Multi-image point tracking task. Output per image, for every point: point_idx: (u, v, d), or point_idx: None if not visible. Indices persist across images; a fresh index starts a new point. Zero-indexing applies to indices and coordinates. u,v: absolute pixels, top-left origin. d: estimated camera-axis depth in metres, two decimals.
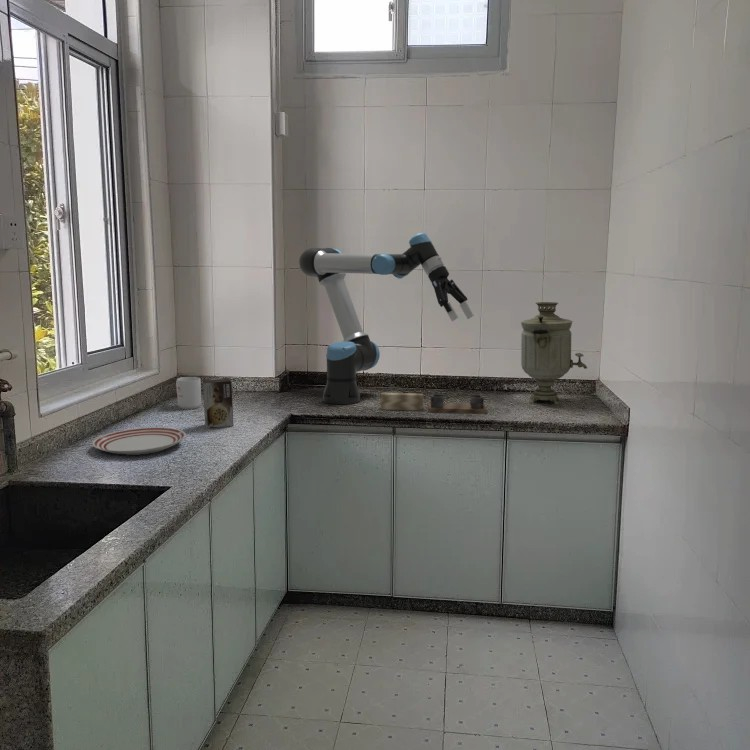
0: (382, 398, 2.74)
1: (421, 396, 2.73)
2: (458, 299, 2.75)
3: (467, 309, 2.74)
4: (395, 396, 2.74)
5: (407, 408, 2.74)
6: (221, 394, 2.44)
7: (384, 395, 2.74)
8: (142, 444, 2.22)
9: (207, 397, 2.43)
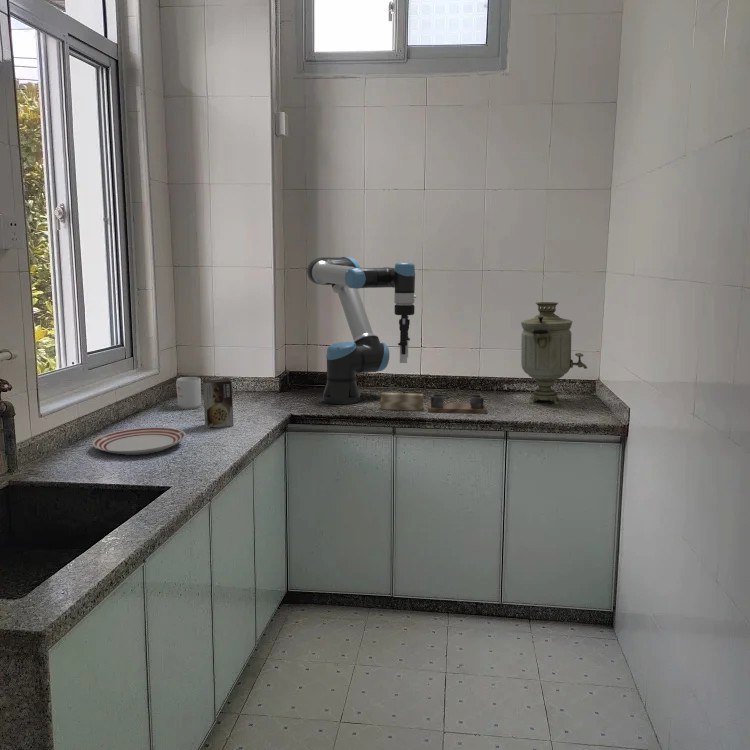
0: (382, 398, 2.75)
1: (421, 396, 2.72)
2: None
3: None
4: (395, 396, 2.74)
5: (407, 408, 2.74)
6: (221, 394, 2.44)
7: (384, 395, 2.74)
8: (142, 444, 2.22)
9: (207, 397, 2.43)
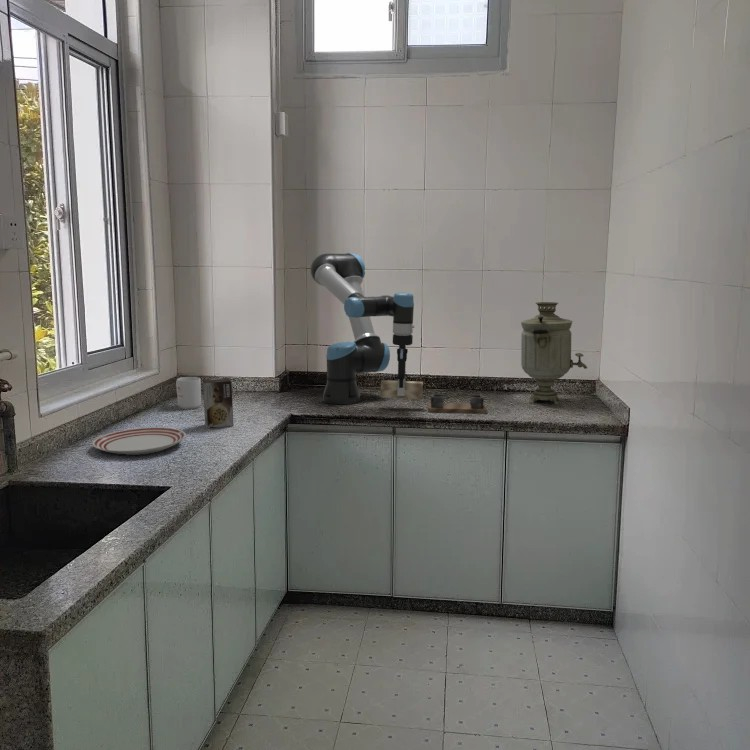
0: (382, 386, 2.74)
1: (421, 384, 2.73)
2: None
3: None
4: (395, 384, 2.73)
5: (407, 396, 2.74)
6: (221, 394, 2.44)
7: (384, 383, 2.73)
8: (142, 444, 2.22)
9: (207, 397, 2.43)
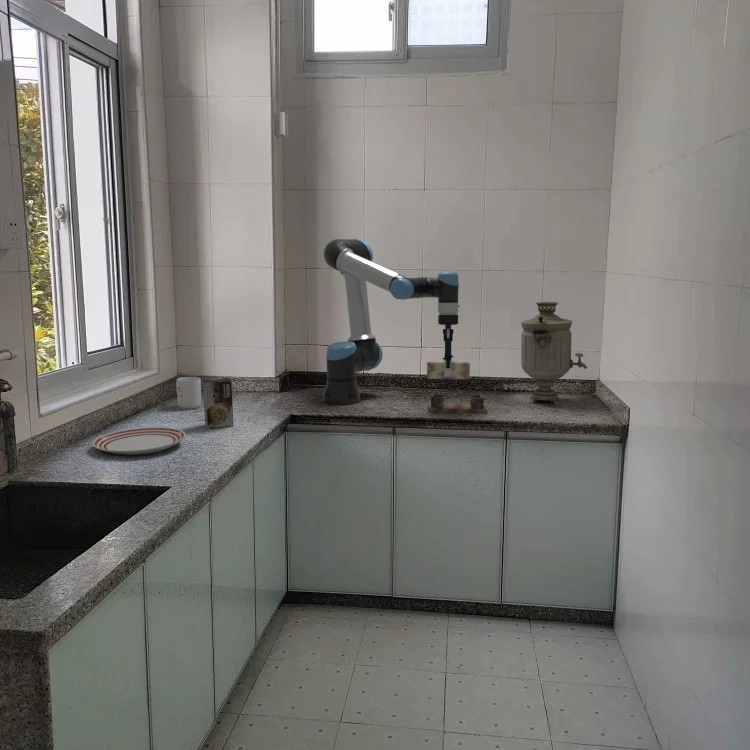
0: (428, 367, 2.70)
1: (468, 364, 2.69)
2: None
3: None
4: (442, 364, 2.70)
5: (454, 377, 2.70)
6: (221, 394, 2.44)
7: (430, 364, 2.70)
8: (142, 444, 2.22)
9: (207, 397, 2.43)
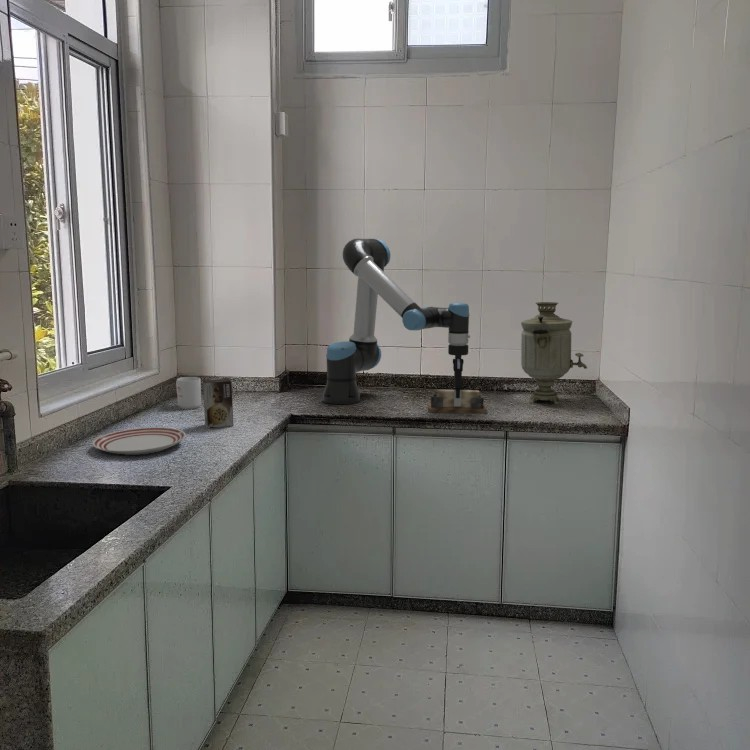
0: (438, 395, 2.72)
1: (478, 393, 2.71)
2: None
3: None
4: (451, 393, 2.72)
5: (463, 405, 2.72)
6: (221, 394, 2.44)
7: (440, 392, 2.72)
8: (142, 444, 2.22)
9: (207, 397, 2.43)
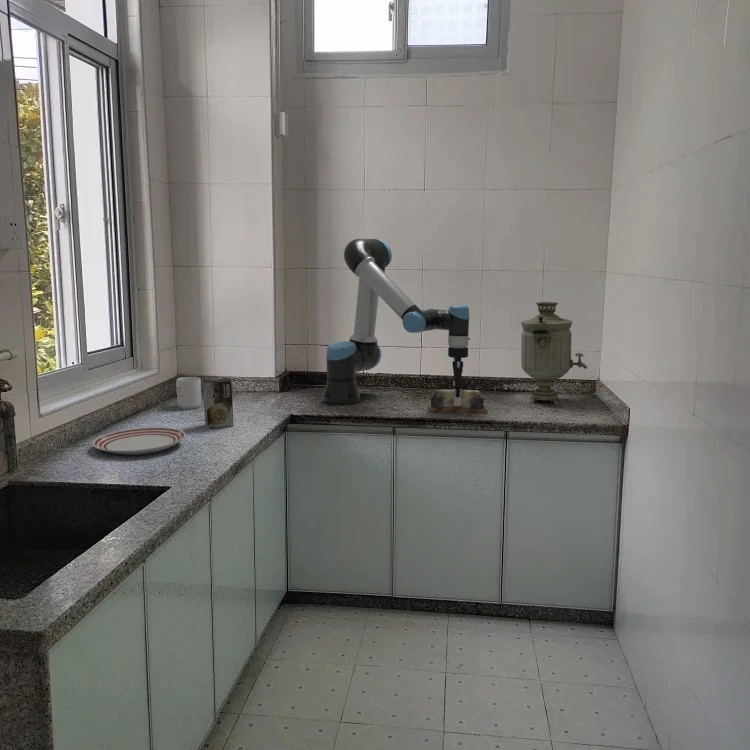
0: (438, 395, 2.72)
1: (478, 393, 2.71)
2: None
3: None
4: (451, 393, 2.72)
5: (463, 405, 2.72)
6: (221, 394, 2.44)
7: (440, 392, 2.72)
8: (142, 444, 2.22)
9: (207, 397, 2.43)
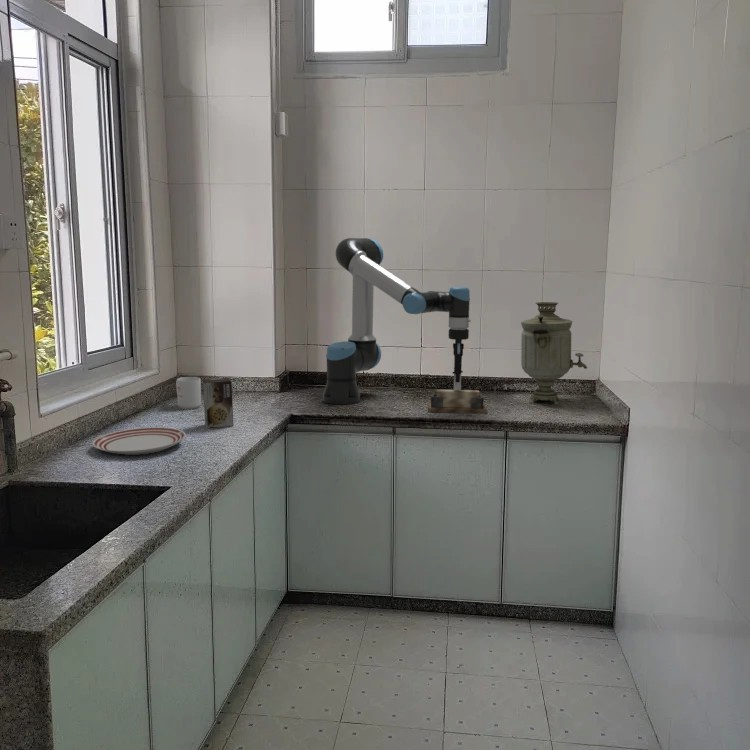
0: (438, 395, 2.72)
1: (478, 393, 2.71)
2: None
3: None
4: (451, 393, 2.72)
5: (463, 405, 2.72)
6: (221, 394, 2.44)
7: (440, 392, 2.72)
8: (142, 444, 2.22)
9: (207, 397, 2.43)
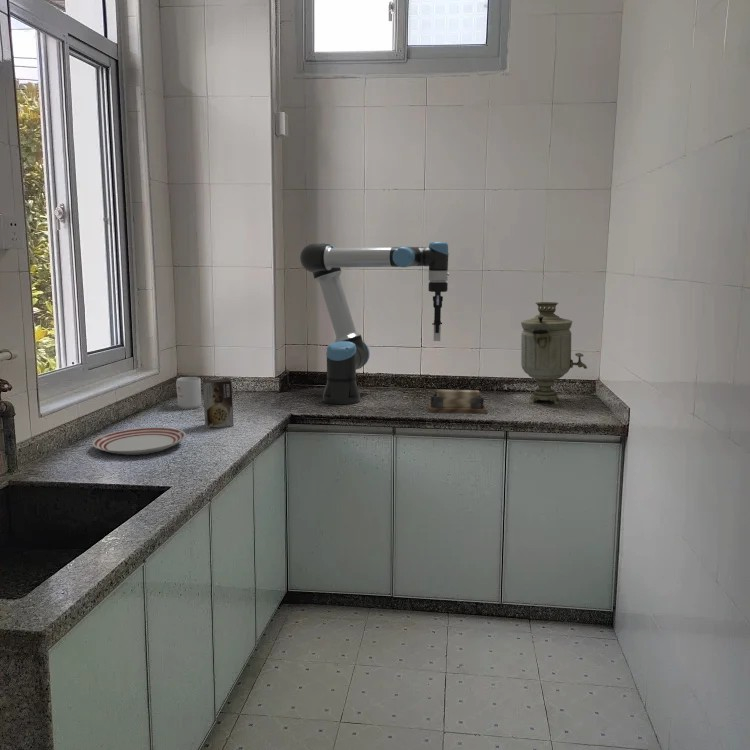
0: (438, 395, 2.72)
1: (478, 393, 2.71)
2: None
3: None
4: (451, 393, 2.72)
5: (463, 405, 2.72)
6: (221, 394, 2.44)
7: (440, 392, 2.72)
8: (142, 444, 2.22)
9: (207, 397, 2.43)
